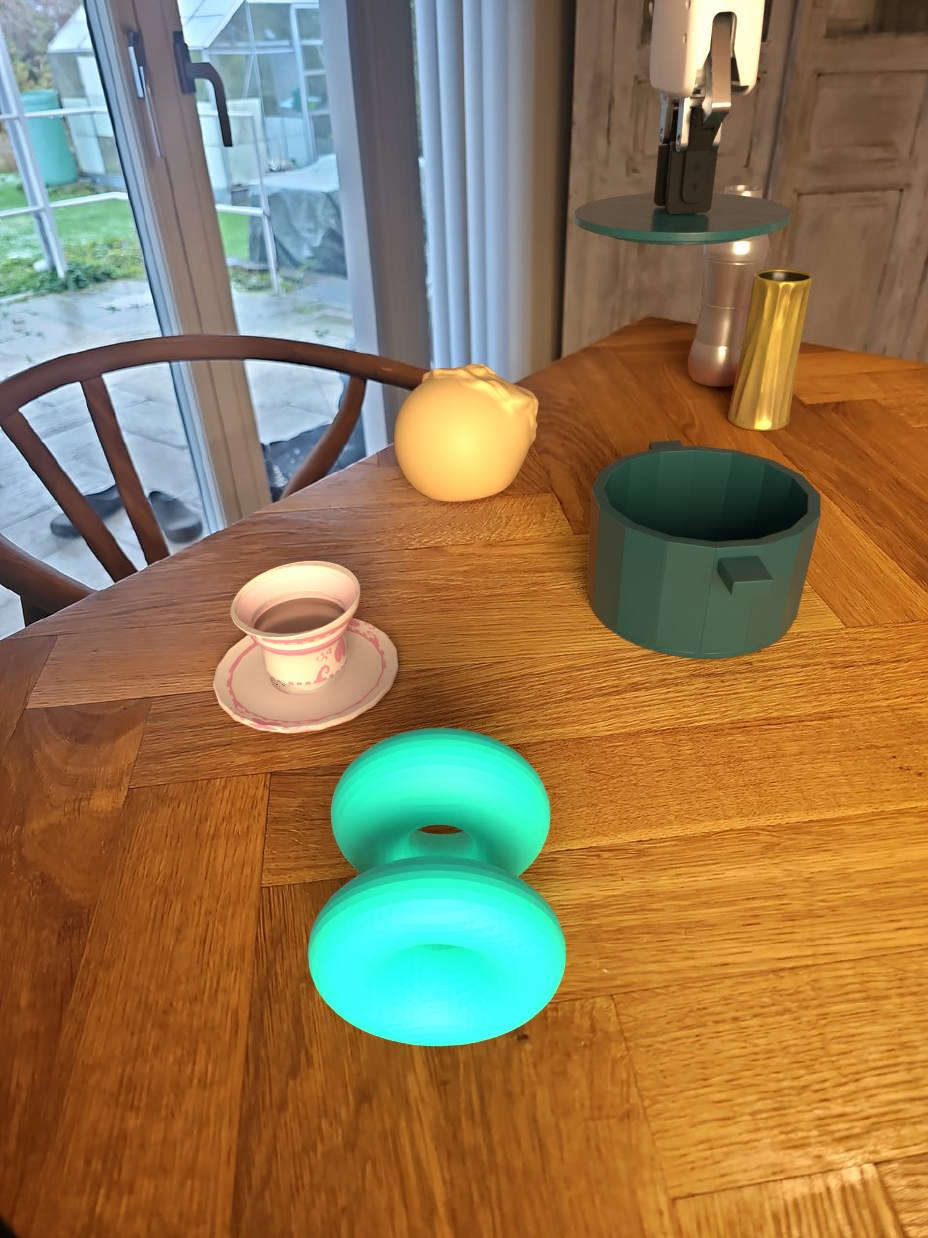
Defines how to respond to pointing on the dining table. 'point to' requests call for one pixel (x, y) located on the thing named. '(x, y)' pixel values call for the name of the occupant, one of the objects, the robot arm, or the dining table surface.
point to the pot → (699, 549)
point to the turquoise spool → (438, 893)
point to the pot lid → (682, 219)
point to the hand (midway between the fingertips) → (681, 206)
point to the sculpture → (464, 433)
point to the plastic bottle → (725, 303)
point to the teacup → (303, 652)
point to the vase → (770, 350)
